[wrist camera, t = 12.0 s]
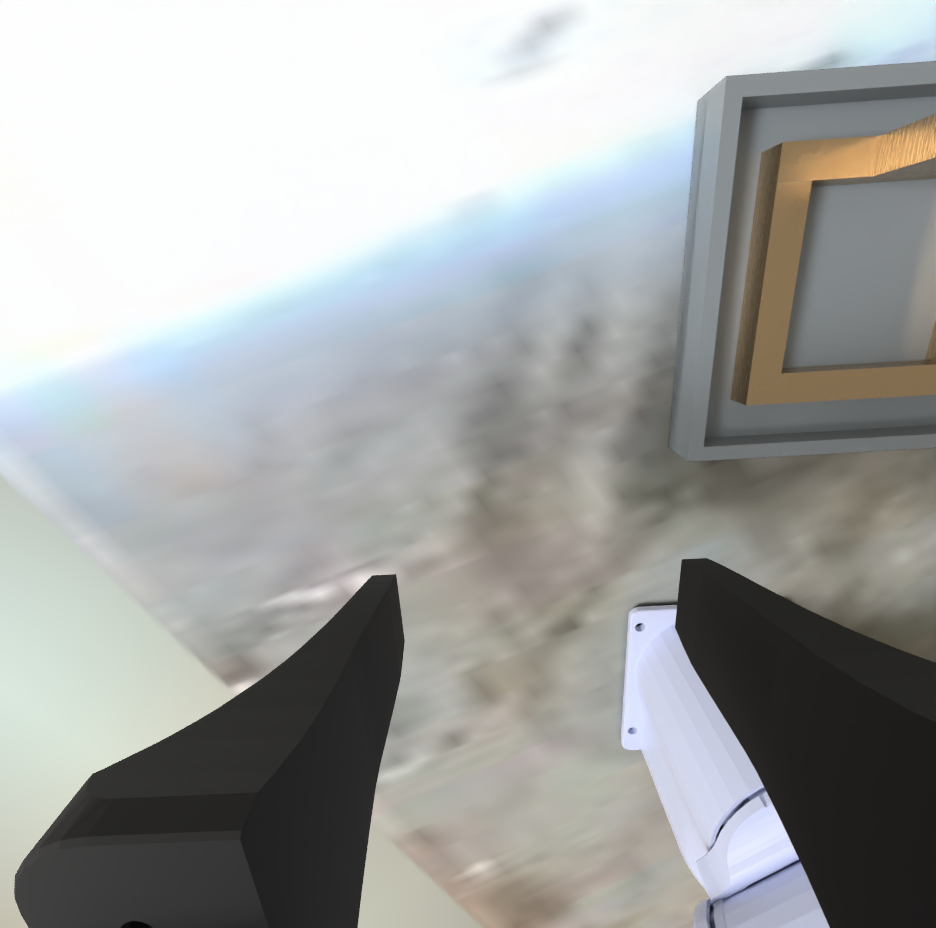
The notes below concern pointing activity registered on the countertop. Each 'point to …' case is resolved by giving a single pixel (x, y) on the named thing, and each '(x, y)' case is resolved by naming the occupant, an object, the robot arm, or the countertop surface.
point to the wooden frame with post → (777, 259)
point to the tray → (807, 266)
